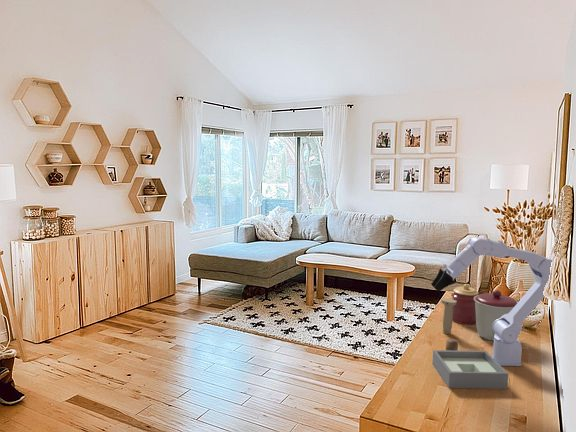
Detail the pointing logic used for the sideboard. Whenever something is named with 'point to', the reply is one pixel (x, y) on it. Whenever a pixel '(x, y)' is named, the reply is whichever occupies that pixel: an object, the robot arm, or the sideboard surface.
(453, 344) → the peg
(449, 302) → the handle
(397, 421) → the sideboard surface
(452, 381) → the socket box
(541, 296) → the robot arm
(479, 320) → the canister
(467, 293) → the canister
